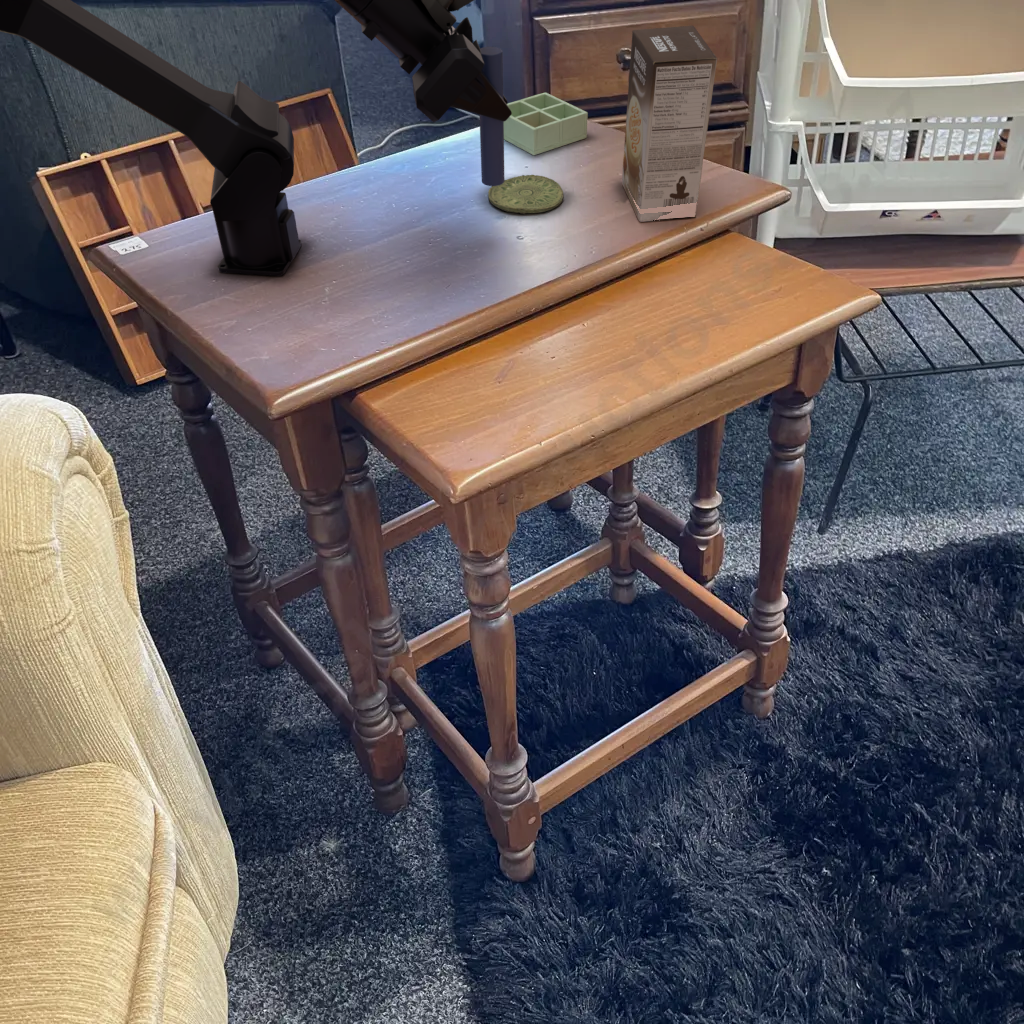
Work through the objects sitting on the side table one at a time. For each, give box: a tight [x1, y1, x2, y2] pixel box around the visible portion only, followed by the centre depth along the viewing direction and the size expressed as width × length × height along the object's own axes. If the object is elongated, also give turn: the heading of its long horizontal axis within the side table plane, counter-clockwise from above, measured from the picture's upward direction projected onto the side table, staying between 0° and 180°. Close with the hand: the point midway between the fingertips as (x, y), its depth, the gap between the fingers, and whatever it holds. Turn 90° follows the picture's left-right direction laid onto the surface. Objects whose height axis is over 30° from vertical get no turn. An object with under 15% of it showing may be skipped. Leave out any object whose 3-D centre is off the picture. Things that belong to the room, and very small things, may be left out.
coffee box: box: [621, 25, 718, 223], centre depth 99 cm, size 9×6×16 cm
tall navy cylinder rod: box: [479, 46, 506, 187], centre depth 91 cm, size 2×2×12 cm
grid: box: [504, 91, 589, 156], centre depth 116 cm, size 8×8×3 cm
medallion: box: [487, 174, 564, 215], centre depth 105 cm, size 8×8×1 cm
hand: (506, 111), depth 90 cm, fingers closed on tall navy cylinder rod, 2 cm apart
